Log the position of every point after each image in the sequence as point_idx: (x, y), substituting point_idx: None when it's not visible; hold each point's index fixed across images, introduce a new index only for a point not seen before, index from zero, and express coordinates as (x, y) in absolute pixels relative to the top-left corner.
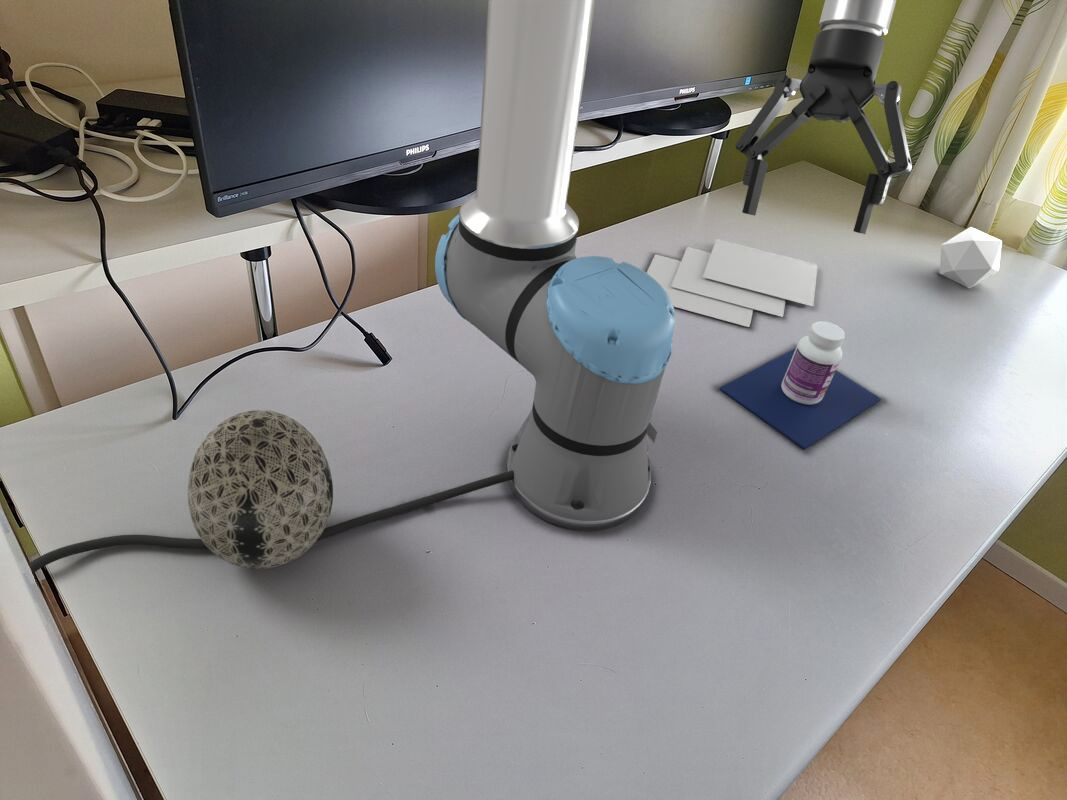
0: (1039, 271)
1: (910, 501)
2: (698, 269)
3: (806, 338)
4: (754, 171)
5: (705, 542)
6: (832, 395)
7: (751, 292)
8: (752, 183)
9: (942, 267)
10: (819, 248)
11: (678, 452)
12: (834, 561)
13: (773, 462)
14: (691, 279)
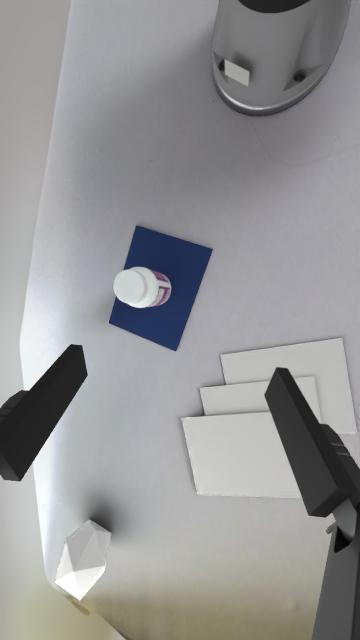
0: (55, 571)
1: (72, 227)
2: None
3: (150, 285)
4: (327, 447)
5: (162, 79)
6: None
7: (236, 412)
8: (308, 417)
9: (107, 538)
10: (205, 532)
11: (212, 148)
12: (94, 136)
13: (150, 196)
14: None
